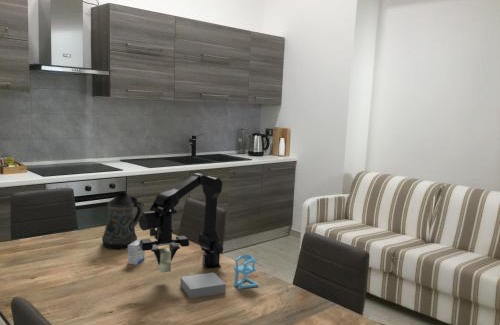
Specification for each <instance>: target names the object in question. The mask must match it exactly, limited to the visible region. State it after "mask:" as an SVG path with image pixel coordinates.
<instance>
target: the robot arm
mask: <svg viewBox="0 0 500 325" xmlns="http://www.w3.org/2000/svg"><path fill="white" fill-rule="evenodd" d="M199 186H202V191H203V194H204V197H205V207H204V221H203V222H204V226H203V230H202V232H200V233H199V234H198V241H197V243H198V244H199V247H200V249H201V251H203V255H202V265H203V266H205V268H207V269H212V268H219V267H221V264H220V255H221V254H223V251H224V247H223V246H222V245H221V244H220V241H219V235H218V233H217V231H216V225H217V208H218V207H217V206H218V198H219V196H220V195H221V193H222V189H223V181H222V180H221V179H220V178H218V177H215V176H214V177H213V176H206V175H204V174H203V173H193V174H192V176H190V177H189V178H187V179H186V180H184V181H183V182H181V183H180V184H178V185H177V186H175V187H174V188H172V189H168V190H164V191H162V192H160V193H158V194H157V195H156V196H155V200H154V201H153V204H151V206H150V208H149V211H143V213H142V216H141V217H140V219H139V222H138V226H139V228H140V229H141V230H142V231H143V232H144V231H149V236H150V237H154V241H153V240H151V239H150V238H145V239H139V240H140V242H139V246H140V248H141V250H142V251H151V253H152V252H153V253H154V256H155V259H156V262H157V266H158V265H160V250H159V249H160V248H159V246H168V247H169V250H170V251H171V262H172V261H173V258H174V257H175V254H176V253H177V251H178V250H180V248H181V247H189V246H190V239H188V237H186V236H185V235H177V236H175V238H173V232H174V229H173V215H175V214H178V211H177V210H176V209H175V207H176V206H177V205H179V203H180V200H181V199H182V198H184V196H186V195H188V194H189V193H190V192H192V191H193V190H195V189H196V188H197V187H199Z"/></svg>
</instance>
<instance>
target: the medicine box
mask: <svg viewBox="0 0 500 325" xmlns="http://www.w3.org/2000/svg"><path fill="white" fill-rule="evenodd" d="M140 240H141V239H137V240H135V241H134V242H132V243H131V244H129V245H128V249H127V264H128V265H135V266H137V265H139V264H140V263H141V262H142V261H144V260H145V251H142V250H141V248H140V246H139V242H140Z"/></svg>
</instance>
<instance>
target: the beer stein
mask: <svg viewBox="0 0 500 325" xmlns="http://www.w3.org/2000/svg"><path fill="white" fill-rule="evenodd" d="M107 208H108V213H107V219H106V225H105V227H104V228H105V229H104V231H103V235H102V238H101V241H102V245H103V248H105V249H108V250H115V251H120V250H121V251H122V250H128V245H129V244H131V243H132V242H134V241H135V240H138V236H137V234H136V230H135V227H136V226H137V224H139V219H140V217H141V216H142V213H143V212H144V209H143V205H142V202H140V201H138V199H137V197H136V196H133V195H129V194H128V193H117V194H116V196H115V197H113V198H112V199H111V200H109V201H108V202H107ZM134 208H136V209H137V210H136V213H135V216H134V214H133V209H134Z"/></svg>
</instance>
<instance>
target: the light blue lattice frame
mask: <svg viewBox="0 0 500 325" xmlns="http://www.w3.org/2000/svg"><path fill="white" fill-rule="evenodd" d="M242 259H244V261H245V262H244V263H243V264H242V265H239V261H240V260H242ZM234 261H235V266H234V267H233V270H234V272H235V273H234V284H233V287H237V289H238V290H240V289H247V288H254V287H258V286H259V283H257V282H256V281H254V280H251V279H250V278H248V276H249V275H250V274H252V273H255V272H257V268H255V265H256V263H257V262H256V261H257V260H256V259H255V257H254V256H252V255H249V254H244V255H240V256H238V257H237V258H235V259H234ZM250 263H252V265H249V264H250ZM239 274H242V275H243V277H242V278H241V280H239ZM246 281H247V282H248V283H249V284H244V282H246Z"/></svg>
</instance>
